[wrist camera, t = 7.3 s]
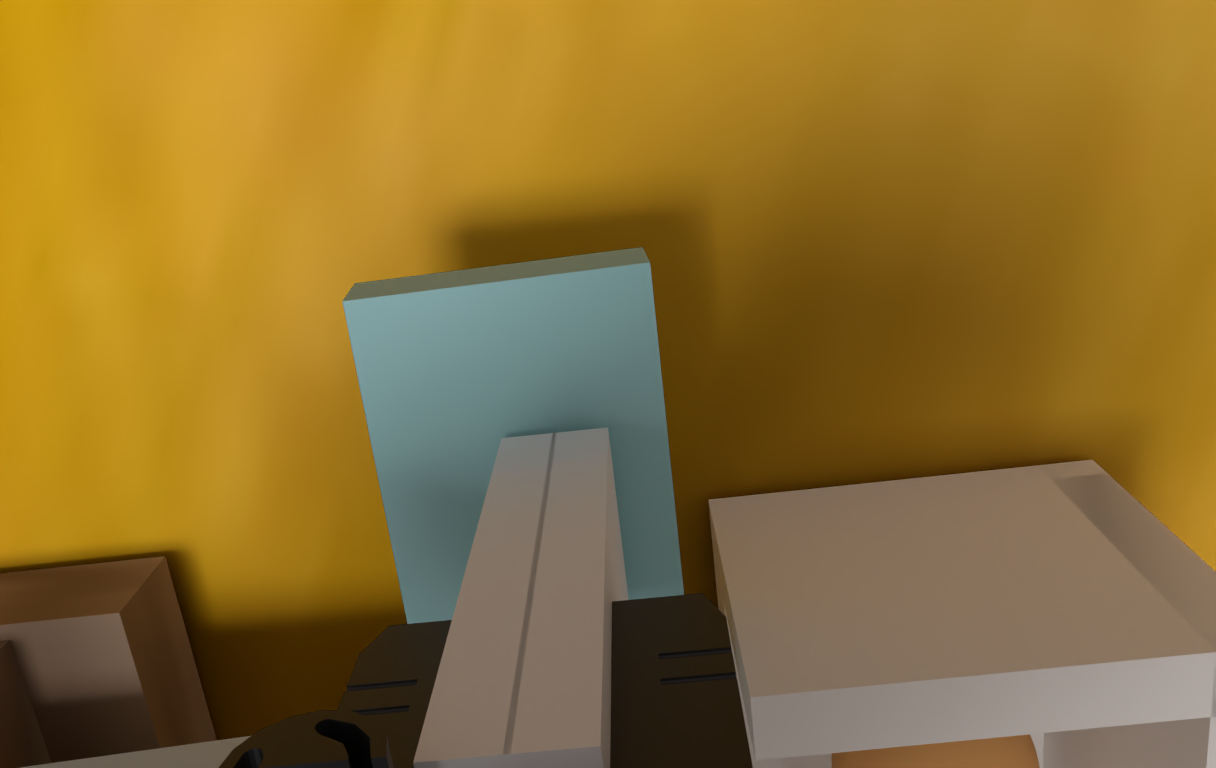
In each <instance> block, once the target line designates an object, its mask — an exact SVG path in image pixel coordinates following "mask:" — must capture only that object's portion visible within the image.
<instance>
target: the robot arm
mask: <svg viewBox="0 0 1216 768" xmlns="http://www.w3.org/2000/svg"><path fill="white" fill-rule="evenodd" d="M219 768H753V766H752V760H751V754H750V749H749V743H748V737H747V732H746V726H745V721H744V715H743V709H742V704H741V698H740V693H739V687H738V681H737V678H736V670H735V664H734V659H733V653H732V648H731V642H730V636H729V631H728V625H727V620H726V616H725V615H724V614H723V613H722V612H721V611H720V610H719V609H718V608H717V607H716V606H715V605H714V604H713V603H712V602H711V601H710V600H709V599H708V598H707V597H706V596H705V595H704V594H703V593H698V594H687V595H676V596H666V597H655V598H644V599H634V600H629V598H628V589H627V581H626V573H625V564H624V556H623V548H622V539H621V531H620V523H619V515H618V506H617V498H616V490H615V481H614V473H613V465H612V456H611V448H610V440H609V432H608V427H607V428H597V429H587V430H578V431H568V432H558V433H548V434H538V435H528V436H518V437H508V438H501V442H500V445H499V449H498V453H497V456H496V460H495V464H494V467H493V471H492V475H491V478H490V482H489V486H488V489H487V493H486V497H485V500H484V504H483V508H482V511H481V515H480V519H479V522H478V526H477V530H476V533H475V537H474V541H473V544H472V548H471V552H470V555H469V559H468V563H467V566H466V570H465V574H464V577H463V581H462V585H461V588H460V592H459V596H458V600H457V603H456V607H455V611H454V614H453V618H452V620H445V621H434V622H423V623H412V624H402V625H391V626H388V627H387V628H386V629H385V630H384V631H383V632H382V633H381V634H380V635H379V636H378V637H377V638H376V639H375V640H374V641H373V642H372V643H371V644H370V645H369V646H368V647H366V648H365V649H364V650H363V651H362V652H361V653H360V654H359V657H358V659H357V662H356V664H355V667H354V669H353V672H352V674H351V677H350V679H349V682H348V684H347V692H344V694H343V697H342V699H341V702H340V704H339V707H338V709H337V710H320V711H315V712H310V713H306V714H301V715H296V716H291V717H289V718H286V719H284V720H282V721H279V722H277V723H275V724H273V725H270V726H268V727H266V728H263V729H261V730H259V731H258V732H256V733H255V734H254V735H252V736H251V737H249V738H248V739H247V740H245V741H244V742H242V743H241V744H240V745H238V746H237V747H235V748H234V749H233V750H232V751H231V752H230V754H229V755H228V756H227V757H226V759H225V760H224V761H223V763H222V764H221V765H220V766H219Z"/></svg>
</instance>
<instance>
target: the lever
mask: <svg viewBox="0 0 1216 768" xmlns="http://www.w3.org/2000/svg"><path fill="white" fill-rule="evenodd" d="M343 306H344V311H345V316H346V321H347V326H348V331H349V336H350V341H351V346H352V351H353V356H354V361H355V366H356V371H357V376H358V381H359V386H360V391H361V396H362V401H363V406H364V410H365V415H366V420H367V425H368V430H369V435H370V440H371V445H372V450H373V455H374V460H375V465H376V470H377V475H378V480H379V485H380V490H381V495H382V500H383V505H384V510H385V515H386V520H387V525H388V530H389V534H390V539H391V544H392V549H393V554H394V559H395V564H396V569H397V574H398V579H399V584H400V589H401V594H402V599H403V604H404V609H405V614H406V619H407V624H412V623H423V622H434V621H445V620H452V618H453V614H454V611H455V607H456V603H457V600H458V596H459V592H460V588H461V585H462V581H463V577H464V574H465V570H466V566H467V563H468V559H469V555H470V552H471V548H472V544H473V541H474V537H475V533H476V530H477V526H478V522H479V519H480V515H481V511H482V508H483V504H484V500H485V497H486V493H487V489H488V486H489V482H490V478H491V475H492V471H493V467H494V464H495V460H496V456H497V453H498V449H499V445H500V442H501V438H508V437H518V436H528V435H538V434H548V433H558V432H568V431H578V430H587V429H597V428H607V427H608V432H609V440H610V448H611V456H612V465H613V473H614V481H615V490H616V498H617V506H618V515H619V523H620V531H621V539H622V548H623V556H624V564H625V573H626V581H627V589H628V598H629V600H634V599H644V598H655V597H666V596H676V595H684V588H683V578H682V568H681V558H680V549H679V539H678V529H677V519H676V510H675V500H674V490H673V480H672V471H671V461H670V451H669V441H668V432H667V422H666V412H665V402H664V393H663V383H662V373H661V363H660V354H659V344H658V334H657V324H656V314H655V305H654V295H653V285H652V275H651V266H650V261H649V259H648V257H647V255H646V253H645V251H644V249H643V247H639V248H631V249H624V250H616V251H608V252H600V253H592V254H584V255H576V256H568V257H560V258H552V259H544V260H536V261H529V262H521V263H513V264H505V265H497V266H489V267H481V268H473V269H465V270H457V271H449V272H441V273H434V274H426V275H418V276H410V277H402V278H394V279H386V280H378V281H370V282H362V283H355V284H354V285H353V287H352V288H351V290H350V291H349V293H348V294H347V296H346V297H345V298H344V300H343ZM249 737H251V736H245V737H238V738H231V739H224V740H216V741H209V742H202V743H195V744H187V745H180V746H173V747H165V748H158V749H151V750H144V751H136V752H129V753H122V754H114V755H107V756H100V757H93V758H85V759H78V760H71V761H64V762H56V763H49V764H42V765H34V766H27V767H20V768H219V766H220V765H221V764H222V763H223V761H224V760H225V759H226V757H227V756H228V755H229V754H230V752H231V751H232V750H233V749H234V748H235V747H237V746H238V745H240V744H241V743H242V742H244V741H245V740H247V739H248V738H249Z"/></svg>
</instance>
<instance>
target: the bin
mask: <svg viewBox="0 0 1216 768" xmlns="http://www.w3.org/2000/svg"><path fill="white" fill-rule="evenodd" d="M708 501H709V512H710V523H711V534H712V545H713V556H714V567H715V578H716V589H717V600H718V609H719V610H720V611H721V612H722V613H723V614H724V615H725V616H726V620H727V625H728V631H729V636H730V642H731V648H732V653H733V659H734V664H735V670H736V678H737V681H738V687H739V693H740V698H741V704H742V709H743V715H744V721H745V726H746V732H747V737H748V743H749V749H750V754H751V760H752V766H753V768H832V753H840V752H850V751H861V750H871V749H882V748H892V747H902V746H913V745H923V744H934V743H944V742H955V741H965V740H976V739H986V738H997V737H1007V736H1018V735H1028V734H1030V736H1031V738H1032V741H1033V743H1034V746H1035V749H1036V753H1037V757H1038V761H1039V767H1040V768H1216V572H1215V571H1214V570H1213V569H1212V568H1211V567H1210V566H1209V565H1208V564H1206V563H1205V562H1204V561H1203V560H1202V559H1201V558H1200V557H1199V556H1198V555H1197V554H1196V553H1194V552H1193V551H1192V550H1191V549H1190V548H1189V547H1188V546H1187V545H1186V544H1185V543H1183V542H1182V541H1181V540H1180V539H1179V538H1178V537H1177V536H1176V535H1175V534H1174V533H1172V532H1171V531H1170V530H1169V529H1168V528H1167V527H1166V526H1165V525H1164V524H1163V523H1162V522H1160V521H1159V520H1158V519H1157V518H1156V517H1155V516H1154V515H1153V514H1152V513H1151V512H1149V511H1148V510H1147V509H1146V508H1145V507H1144V506H1143V505H1142V504H1141V503H1140V502H1138V501H1137V500H1136V499H1135V498H1134V497H1133V496H1132V495H1131V494H1130V493H1129V492H1128V491H1126V490H1125V489H1124V488H1123V487H1122V486H1121V485H1120V484H1119V483H1118V482H1117V481H1115V480H1114V479H1113V478H1112V477H1111V476H1110V475H1109V474H1108V473H1107V472H1106V471H1104V470H1103V469H1102V468H1101V467H1100V466H1099V465H1098V464H1097V463H1096V462H1095V461H1094V460H1084V461H1075V462H1065V463H1055V464H1046V465H1036V466H1027V467H1017V468H1007V469H998V470H988V471H979V472H969V473H959V474H950V475H940V476H930V477H921V478H911V479H902V480H892V481H882V482H873V483H863V484H854V485H844V486H834V487H825V488H815V489H806V490H796V491H786V492H777V493H767V494H758V495H748V496H738V497H729V498H719V499H710V500H708Z"/></svg>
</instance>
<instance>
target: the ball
mask: <svg viewBox="0 0 1216 768" xmlns="http://www.w3.org/2000/svg"><path fill="white" fill-rule="evenodd" d="M832 768H1040V767H1039V761H1038V757H1037V753H1036V749H1035V746H1034V743H1033V741H1032V738H1031V736H1030V734H1028V735H1018V736H1007V737H997V738H986V739H976V740H965V741H955V742H944V743H934V744H923V745H913V746H902V747H892V748H882V749H871V750H861V751H850V752H840V753H832Z"/></svg>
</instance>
